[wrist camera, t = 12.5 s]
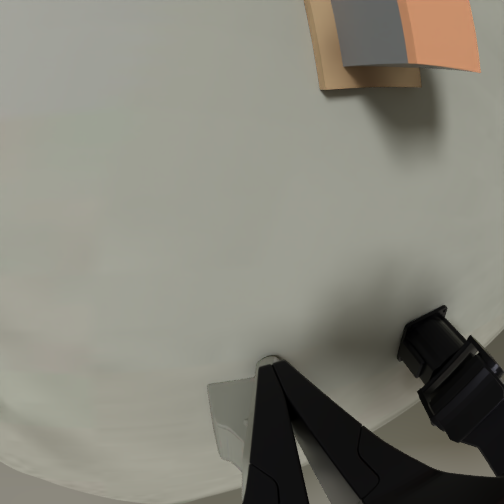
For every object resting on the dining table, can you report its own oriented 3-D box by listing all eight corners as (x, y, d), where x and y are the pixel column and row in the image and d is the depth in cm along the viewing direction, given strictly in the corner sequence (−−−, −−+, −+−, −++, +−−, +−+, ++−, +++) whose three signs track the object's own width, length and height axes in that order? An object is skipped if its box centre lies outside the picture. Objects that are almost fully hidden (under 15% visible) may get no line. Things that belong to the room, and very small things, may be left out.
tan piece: (398, -11, 13) (454, -24, 8) (414, 86, 17) (474, 95, 12) (298, -24, 12) (343, -57, 7) (319, 89, 16) (374, 92, 12)
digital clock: (265, 432, 34) (290, 502, 25) (196, 437, 31) (211, 514, 22) (309, 348, 27) (358, 441, 18) (213, 350, 25) (240, 464, 16)
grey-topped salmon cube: (394, 0, 13) (465, -14, 8) (405, 67, 16) (480, 72, 10) (328, -8, 13) (395, -39, 7) (342, 66, 15) (417, 63, 10)
